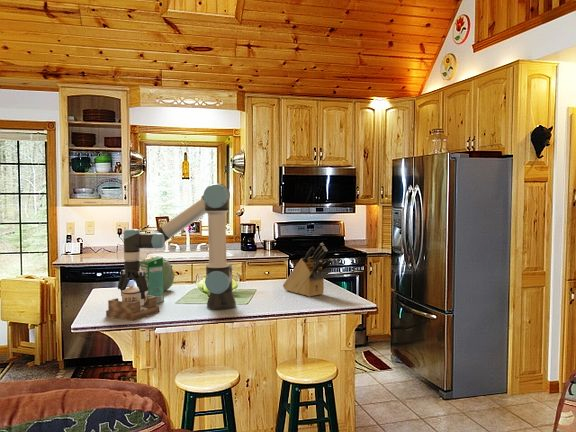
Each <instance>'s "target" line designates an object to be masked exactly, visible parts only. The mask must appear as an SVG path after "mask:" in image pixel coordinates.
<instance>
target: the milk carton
mask: <svg viewBox="0 0 576 432" xmlns="http://www.w3.org/2000/svg"><path fill="white" fill-rule="evenodd" d="M163 259H164V257H163V256H158V255H153V256H148V257H145V259H141V260H139V261H140V268H139V271H140V272H143V271H144V272H145V280H146V283H147V287H148V291H146V292H145V294H146V295H149V296H157V304H159V303H163V302H165V301H164V297H165V295H164V294H165V293H164V292H165V291H164V289H163Z"/></svg>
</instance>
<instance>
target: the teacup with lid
mask: <svg viewBox="0 0 576 432" xmlns="http://www.w3.org/2000/svg"><path fill="white" fill-rule="evenodd" d="M139 292H140V291H139V288H138V287H135V286H134V285H133V284H130V285H129V286H128V287H126V289H125V290H123V291H122V297H121V301H123V302H130V303H132V302H136V301H139ZM145 296H146V299H145V301H144V303H145V302H146V300H147V295H146V294H145ZM140 308H141V306H140Z"/></svg>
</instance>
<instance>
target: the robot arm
mask: <svg viewBox="0 0 576 432" xmlns="http://www.w3.org/2000/svg"><path fill="white" fill-rule="evenodd" d="M230 194H231V193H230V190H229V188H228V187H227V186H226V185H224V184H221V183H212V184H209V185H208V186H207V187H206V188H205V190H204V191H203V194H202V195H201V197H200V199H199V200H197V201H196V202H195V203H194V204H192V205H191V206H188V208H186V209H185V210H184V211H182V212H181V213H179V214H178V215H176V216H175V217H173V218H172V219H170V220H169V221H167V222H166V223H165V224H163V225H162V226H161V227H159V228H158V229H156V230H155V231H153V232H145V233H144V232H143V233H142V232H140V230H139V229H137V228H127V229H124V231H123V261H124V262H123V264H124V265H123V266H124V269H121V270H119V271H120V272H119V274H120V275H119V279H118V283H117V289H118V290H120V296H121V298H122V291H123V290H125V289H127V288H128V285H129V283H130V281H131V280H133V281H134V282H135V284H136V287H137V289H139V291H140V292H139V301H140V306H142V305H144V299H145V292H146V291H148V287H147V283H146V280H145V272H144V271H143V272H140V261H141V260H140V258H141V257H140V256H141V255H140V254H141V249H163V248H164V247H165V243H166V242H167V241H168V240H170V239H171V238H173V237H174V236H176V235H177V234H179V233H180V232H181V231H183V230H184V229H186V228H187V227H189V226H190V225H191V224H193V223H195V222H196V221H197V220H199V219H201V218H202V217H203V216H204V215H205V214H207V219H208V221H207V222H208V223H207V225H208V231H207V232H208V263H207V264H206V266H205V273H206V274H205V275H206V276H205V280H204V283H205V284H204V285H205V287H206V290H208V292H209V296H208V299H207V302H206V308H207V309H208V310H213V311H217V310H218V311H223V310H230V309H234V308H235V307H236V306H237V303H236V302H237V301H236V300H235V296H234V293H233V265H232V264H231V263H228V262H227V224H226V223H227V222H226V218H227V217H226V215H227V213H229V211H230V210H229V200H230V197H231V195H230ZM121 301H122V300H121ZM122 302H123V301H122Z"/></svg>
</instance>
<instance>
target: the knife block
mask: <svg viewBox="0 0 576 432" xmlns="http://www.w3.org/2000/svg"><path fill="white" fill-rule="evenodd" d="M328 251H329V250H328V249H327V247H326V246H325V244H324V242H321V243H319V246H318V247H317V248H316V249H315V246H311V247H310V248H309V249H308V251H307V252H306V254H305V256H304V257H303V258H300V259H299V261H298V262H297V263H296V265H295V267H294V268H293V270H292V271H291V272H290V274H289V275H288V277H287V279H286V280H285V282H283V284H282V288H283V289H284V290H285V291H287V292H291V293H296V294H298V295H299V294H300V295H303V296H307V297H308V298H309V297H313V296H317V295H321V296H322V295H323V294H324V279H325V277H326V276H328V274H330V272H331V271H332V270H333V268H332V267H329V266H330V265H331V263H332V262H333V258H329V259H328V258H325V257H326V255H327V254H328ZM313 252H314V253H313ZM312 254H313V255H312Z"/></svg>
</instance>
